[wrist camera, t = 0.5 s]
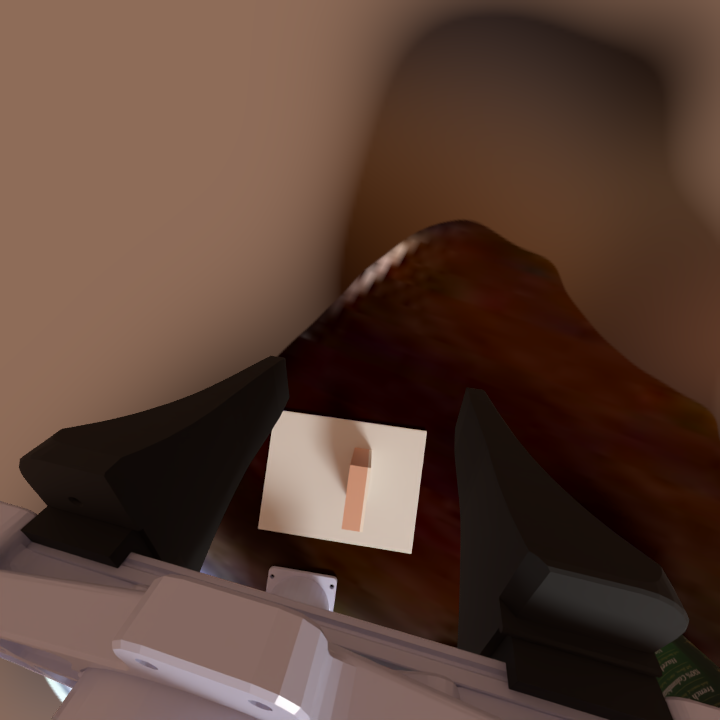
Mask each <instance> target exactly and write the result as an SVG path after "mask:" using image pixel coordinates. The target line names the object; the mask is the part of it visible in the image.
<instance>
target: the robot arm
mask: <svg viewBox="0 0 720 720" xmlns="http://www.w3.org/2000/svg"><path fill="white" fill-rule="evenodd" d="M288 399H289V391H288V381H287V372H286V362H285V358H281V357H275V356H270V357H268V358H266V359H264V360H262V361H260V362H258V363H256V364H254V365H252V366H250V367H248V368H246V369H245V370H243V371H241V372H239V373H237V374H235V375H233V376H231V377H229V378H227V379H225V380H223V381H221V382H219V383H217V384H215V385H213V386H211V387H209V388H206V389H205V390H202V391H200V392H197V393H195V394H193V395H190V396H187V397H185V398H183V399H180V400H177V401H174V402H171V403H169V404H166V405H162V406H159V407H156V408H153V409H150V410H146V411H143V412H139V413H136V414H132V415H128V416H124V417H120V418H116V419H112V420H107V421H102V422H97V423H92V424H86V425H81V426H76V427H71V428H65V429H61V430H60V431H58V432H57V433H55V434H54V435H53V436H51V437H50V438H48V439H47V440H46V441H44V442H43V443H41V444H40V445H39V446H37V447H36V448H34V449H33V450H32V451H30V452H29V453H27V454H26V455H24V456H23V457H22V458H21V459H20V464H19V468H20V471H21V473H22V475H23V477H24V478H25V479H26V481H27V482H28V483H29V484H30V486H31V487H32V488H33V489H34V490H35V492H36V493H37V494H38V495H39V496H40V497H41V499H42V500H43V501H44V502H45V503H46V504H47V507H46V508H45V509H44V510H43V511H42V512H40V513H39V514H38V515H37V514H36V513H34V512H32V511H31V510H28V509H25V508H22V507H19V506H15V505H12V504H8V503H5V502H2V501H0V657H1V658H3V659H5V660H8V661H10V662H12V663H15V664H17V665H19V666H22V667H24V668H27V669H29V670H31V671H34V672H36V673H38V674H41V675H43V676H45V677H47V678H50V679H52V680H54V681H57V682H59V683H61V684H64V685H66V686H68V687H71V688H73V689H72V690H71V691H70V693H69V694H68V696H67V697H66V698H65V700H64V701H63V703H62V704H61V706H60V707H59V709H58V710H57V711H56V713H55V714H54V715H53V717H52V718H51V720H720V708H718V707H714V706H711V705H708V704H704V703H701V702H697V701H694V700H690V699H686V698H681V697H664V696H663V693H662V691H661V688H660V686H659V683H658V681H657V679H656V677H658V678H660V677H661V676H662V669H661V667H660V664H659V662H658V660H657V657H656V655H655V653H654V652H656V651H658V650H659V649H661V648H662V647H664V646H666V645H667V644H669V643H671V642H672V641H674V640H675V639H677V638H678V637H679V636H680V635H682V634H683V633H684V632H685V630H686V629H687V626H688V622H689V618H688V616H687V614H686V612H685V610H684V608H683V606H682V604H681V602H680V600H679V598H678V596H677V594H676V592H675V590H674V588H673V586H672V585H671V583H670V581H669V580H668V578H667V576H666V574H665V573H664V571H663V569H662V568H661V566H660V565H659V564H657V563H656V562H655V561H653V560H652V559H650V558H649V557H648V556H646V555H645V554H643V553H642V552H641V551H639V550H638V549H636V548H635V547H634V546H632V545H631V544H630V543H628V542H627V541H625V540H624V539H623V538H621V537H620V536H618V535H617V534H616V533H615V532H613V531H612V530H611V529H609V528H608V527H607V526H606V525H604V524H603V523H602V522H601V521H599V520H598V519H597V518H596V517H595V516H593V515H592V514H591V513H590V512H588V511H587V510H586V509H585V508H584V507H583V506H581V505H580V504H579V503H578V502H577V501H576V500H575V499H573V498H572V497H571V496H570V495H569V494H568V493H567V492H566V491H565V490H564V489H563V488H561V487H560V486H559V485H558V484H557V483H556V482H555V481H554V480H553V479H552V478H551V477H550V476H549V475H548V474H547V473H546V472H545V471H544V470H543V468H542V467H541V466H540V465H539V464H538V463H537V462H536V461H535V460H534V459H533V458H532V457H531V455H530V454H529V453H528V452H527V451H526V449H525V448H524V447H523V446H522V445H521V443H520V442H519V441H518V440H517V438H516V437H515V436H514V434H513V433H512V431H511V430H510V429H509V427H508V426H507V425H506V423H505V422H504V420H503V419H502V417H501V416H500V414H499V413H498V411H497V410H496V408H495V407H494V405H493V404H492V402H491V400H490V399H489V397H488V396H487V394H486V393H485V391H484V390H479V389H473V388H466V392H465V395H464V399H463V402H462V406H461V409H460V413H459V417H458V420H457V424H456V427H455V461H456V472H457V481H458V491H459V501H460V515H461V561H460V603H459V629H458V649H457V648H454V647H451V646H447V645H444V644H440V643H437V642H434V641H430V640H427V639H424V638H420V637H417V636H413V635H410V634H407V633H403V632H400V631H396V630H393V629H390V628H386V627H383V626H380V625H376V624H373V623H369V622H366V621H363V620H359V619H356V618H353V617H349V616H346V615H342V614H339V613H336V612H333V608H334V601H335V593H336V586H337V578H336V577H335V576H330V575H324V574H319V573H313V572H307V571H301V570H295V569H289V568H283V567H277V566H272V567H271V568H270V569H269V573H268V580H267V587H266V592H265V591H261V590H258V589H254V588H251V587H248V586H244V585H241V584H238V583H234V582H231V581H227V580H224V579H221V578H217V577H214V576H210V575H207V574H204V573H200V570H201V567H202V565H203V562H204V560H205V557H206V555H207V553H208V550H209V548H210V545H211V543H212V540H213V538H214V536H215V534H216V531H217V529H218V527H219V525H220V523H221V520H222V518H223V516H224V514H225V512H226V509H227V507H228V505H229V503H230V501H231V499H232V497H233V495H234V493H235V491H236V489H237V487H238V485H239V483H240V481H241V479H242V477H243V475H244V473H245V471H246V470H247V468H248V466H249V464H250V463H251V461H252V460H253V458H254V456H255V455H256V453H257V452H258V450H259V449H260V447H261V446H262V444H263V443H264V441H265V440H266V438H267V437H268V435H269V434H270V432H271V431H272V429H273V427H274V426H275V424H276V423H277V421H278V420H279V418H280V416H281V414H282V412H283V410H284V408H285V405H286V403H287V401H288ZM271 574H273V575H274V577H272V576H271ZM330 585H334V586H333V587H331V586H330Z"/></svg>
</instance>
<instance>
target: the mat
mask: <svg viewBox="0 0 720 720" xmlns="http://www.w3.org/2000/svg"><path fill="white" fill-rule="evenodd" d="M426 434H427V431H424V430H417V429H410V428H403V427H396V426H389V425H382V424H375V423H368V422H361V421H354V420H347V419H340V418H333V417H326V416H319V415H312V414H305V413H298V412H291V411H283V412H282V414H281V416H280V418H279V420H278V421H277V423H276V424H275V426H274V427H273V429H272V433H271V440H270V447H269V454H268V461H267V469H266V476H265V483H264V490H263V497H262V504H261V511H260V518H259V525H258V529H263V530H269V531H275V532H281V533H287V534H293V535H299V536H305V537H311V538H318V539H324V540H330V541H336V542H342V543H348V544H354V545H360V546H367V547H373V548H379V549H385V550H391V551H397V552H403V553H409V554H411V553H412V545H413V537H414V529H415V521H416V513H417V505H418V497H419V489H420V481H421V473H422V465H423V457H424V449H425V442H426ZM355 447H356V448H363V449H369V450H372V458H371V473H370V480H369V488H368V495H367V503H366V511H365V518H364V526H363V532H357V531H351V530H345V529H342V522H343V514H344V507H345V499H346V492H347V484H348V477H349V469H350V463H351V460H352V456H353V452H354V449H355Z"/></svg>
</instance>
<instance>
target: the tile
mask: <svg viewBox="0 0 720 720" xmlns="http://www.w3.org/2000/svg"><path fill="white" fill-rule="evenodd" d="M371 458H372V450H369V449H363V448H356V447H355V449H354V452H353V456H352V460H351V463H350V469H349V477H348V484H347V492H346V499H345V507H344V514H343V522H342V529H345V530H351V531H357V532H363V526H364V518H365V511H366V503H367V495H368V488H369V480H370V473H371Z"/></svg>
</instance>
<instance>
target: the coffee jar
mask: <svg viewBox="0 0 720 720" xmlns="http://www.w3.org/2000/svg"><path fill="white" fill-rule="evenodd" d="M654 653H655V655H656V657H657V660H658V662H659V664H660V667H661V669H662V676H661V677H660V678H658V677H656V679H657V681H658V683H659V686H660V688H661V691H662V693H663V696H664V697H681V698H686V699H690V700H694V701H697V702H701V703H704V704H708V705H711V706H714V707H718V708H720V668H719V667H718V666H716V665H715V664H714V663H713V662H712V661H711V660H710V659H709V658H707V657H706V656H705V655H704V654H703V653H702V652H701V651H700V650H699V649H697V648H696V647H695V646H694V645H693V644H692V643H691V642H690V641H688V640H687V639H686V638H685V637H684V636H683V635H680V636H679V637H678V638H677V639H675V640H674V641H672V642H671V643H669V644H667V645H666V646H664V647H662V648H661V649H659V650H658V651H656V652H654Z"/></svg>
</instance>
